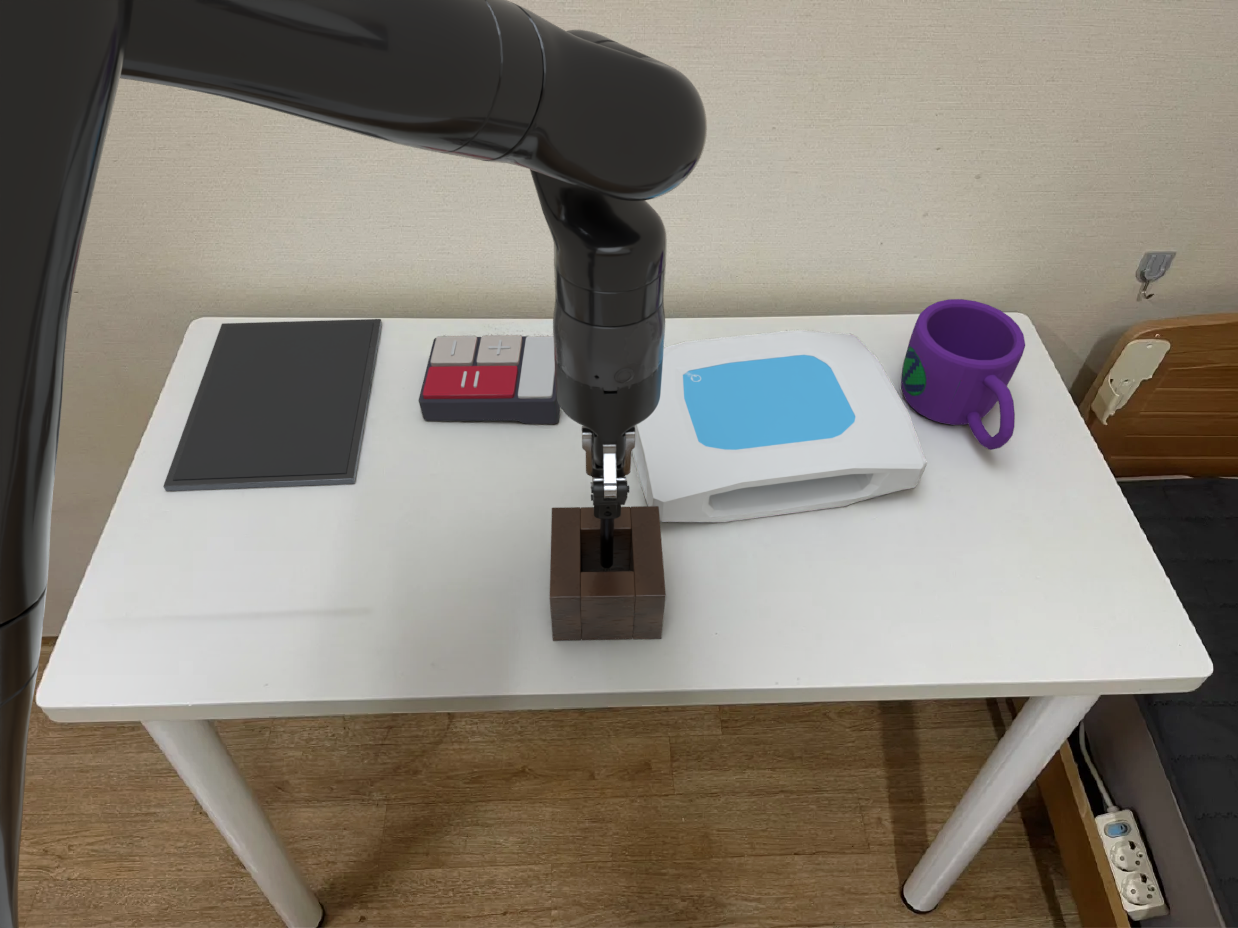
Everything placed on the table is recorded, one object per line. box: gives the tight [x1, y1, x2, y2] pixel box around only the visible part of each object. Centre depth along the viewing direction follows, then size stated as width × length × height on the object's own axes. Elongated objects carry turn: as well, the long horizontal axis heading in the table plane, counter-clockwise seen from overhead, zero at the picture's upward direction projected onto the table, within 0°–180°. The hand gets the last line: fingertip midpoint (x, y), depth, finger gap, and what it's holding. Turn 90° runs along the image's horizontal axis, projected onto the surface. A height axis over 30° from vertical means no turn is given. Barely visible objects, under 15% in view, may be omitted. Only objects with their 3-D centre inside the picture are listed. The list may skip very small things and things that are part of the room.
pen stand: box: [549, 505, 667, 642], centre depth 81 cm, size 10×10×7 cm
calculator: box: [418, 334, 561, 425], centre depth 100 cm, size 11×4×15 cm
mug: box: [900, 298, 1026, 451], centre depth 96 cm, size 17×11×10 cm, turn 11°
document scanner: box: [631, 329, 928, 523], centre depth 95 cm, size 21×28×6 cm
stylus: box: [600, 475, 614, 572], centre depth 75 cm, size 1×1×14 cm
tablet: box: [163, 318, 383, 492], centre depth 99 cm, size 26×19×1 cm
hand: (606, 506), depth 74 cm, fingers closed on stylus, 1 cm apart
